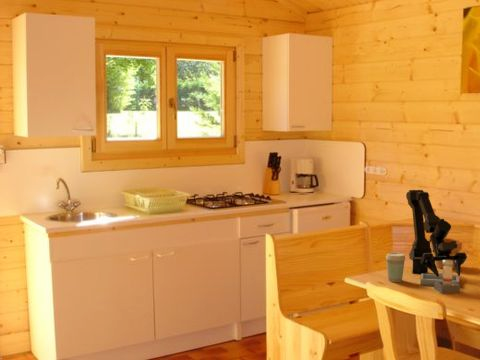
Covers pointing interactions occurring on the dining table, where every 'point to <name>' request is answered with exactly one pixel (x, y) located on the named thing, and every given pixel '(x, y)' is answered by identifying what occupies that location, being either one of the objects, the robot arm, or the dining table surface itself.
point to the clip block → (446, 287)
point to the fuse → (447, 272)
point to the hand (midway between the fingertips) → (448, 275)
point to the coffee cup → (395, 266)
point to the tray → (435, 279)
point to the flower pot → (459, 247)
